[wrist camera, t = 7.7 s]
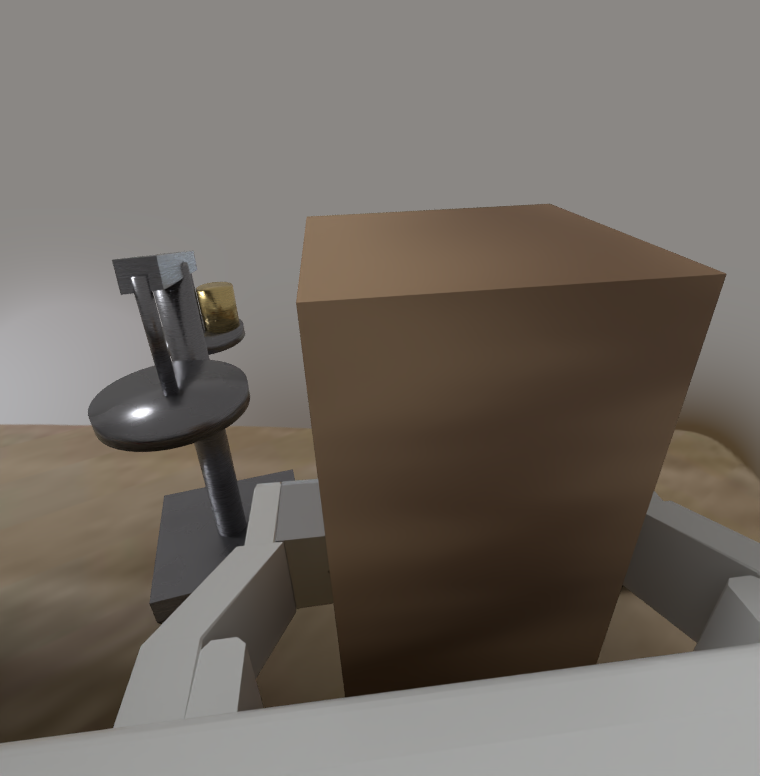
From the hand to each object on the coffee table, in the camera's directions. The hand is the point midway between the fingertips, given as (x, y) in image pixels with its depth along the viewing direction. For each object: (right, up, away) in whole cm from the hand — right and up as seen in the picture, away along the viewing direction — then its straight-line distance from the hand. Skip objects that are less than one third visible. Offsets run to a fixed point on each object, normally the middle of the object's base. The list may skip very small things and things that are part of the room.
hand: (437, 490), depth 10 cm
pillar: (0, -6, +3) cm, 7 cm away
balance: (-10, -7, +18) cm, 22 cm away
